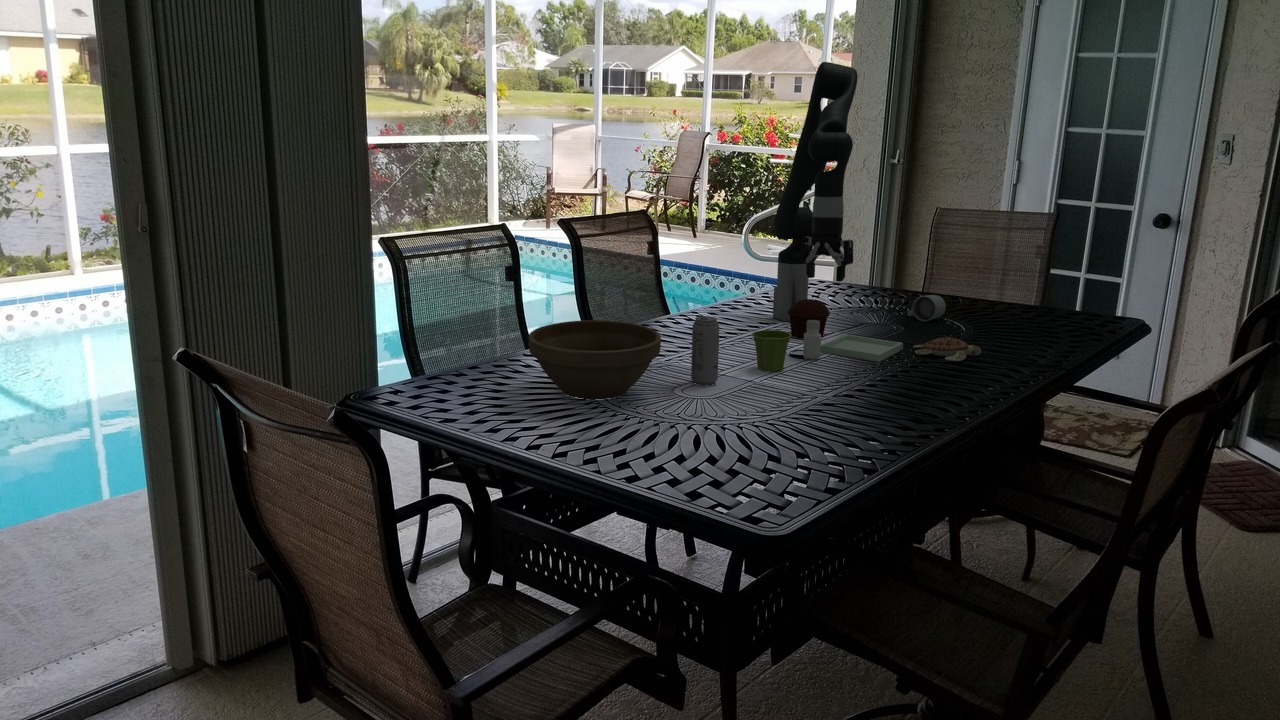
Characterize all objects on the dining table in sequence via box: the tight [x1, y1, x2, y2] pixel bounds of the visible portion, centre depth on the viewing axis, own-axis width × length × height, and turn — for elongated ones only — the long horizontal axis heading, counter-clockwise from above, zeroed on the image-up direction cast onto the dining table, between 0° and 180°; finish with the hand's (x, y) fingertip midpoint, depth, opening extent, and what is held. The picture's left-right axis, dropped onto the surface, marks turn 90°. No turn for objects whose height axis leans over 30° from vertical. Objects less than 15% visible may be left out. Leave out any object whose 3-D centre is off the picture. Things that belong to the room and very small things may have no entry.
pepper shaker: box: [802, 320, 822, 361], centre depth 235 cm, size 4×4×10 cm
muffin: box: [788, 298, 831, 339], centre depth 259 cm, size 12×11×10 cm
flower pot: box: [528, 319, 662, 399], centre depth 204 cm, size 28×28×13 cm
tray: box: [820, 333, 904, 363], centre depth 244 cm, size 16×16×2 cm
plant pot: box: [751, 329, 793, 373], centre depth 225 cm, size 9×9×9 cm
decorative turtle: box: [912, 336, 982, 362], centre depth 241 cm, size 18×17×5 cm
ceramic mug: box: [906, 294, 947, 322], centre depth 284 cm, size 11×8×8 cm
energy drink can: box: [690, 315, 720, 386], centre depth 212 cm, size 6×6×15 cm
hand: (825, 279), depth 237 cm, fingers open, 8 cm apart
